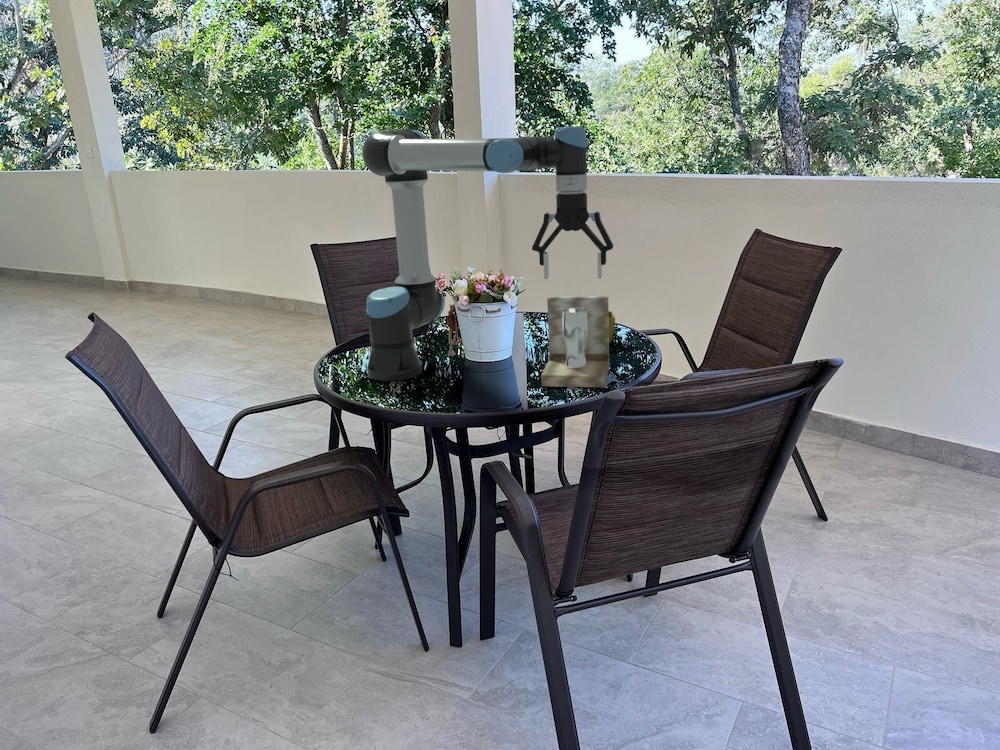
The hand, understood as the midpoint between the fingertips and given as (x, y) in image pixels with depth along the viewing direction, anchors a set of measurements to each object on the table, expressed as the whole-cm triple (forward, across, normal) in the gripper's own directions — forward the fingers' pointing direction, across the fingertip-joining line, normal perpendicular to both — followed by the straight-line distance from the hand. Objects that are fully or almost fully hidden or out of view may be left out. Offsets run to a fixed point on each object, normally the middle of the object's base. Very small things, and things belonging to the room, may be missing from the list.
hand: (572, 278), depth 194 cm
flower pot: (+27, +4, +32) cm, 42 cm away
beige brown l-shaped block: (+26, +1, -2) cm, 26 cm away
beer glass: (+23, 0, 0) cm, 23 cm away
